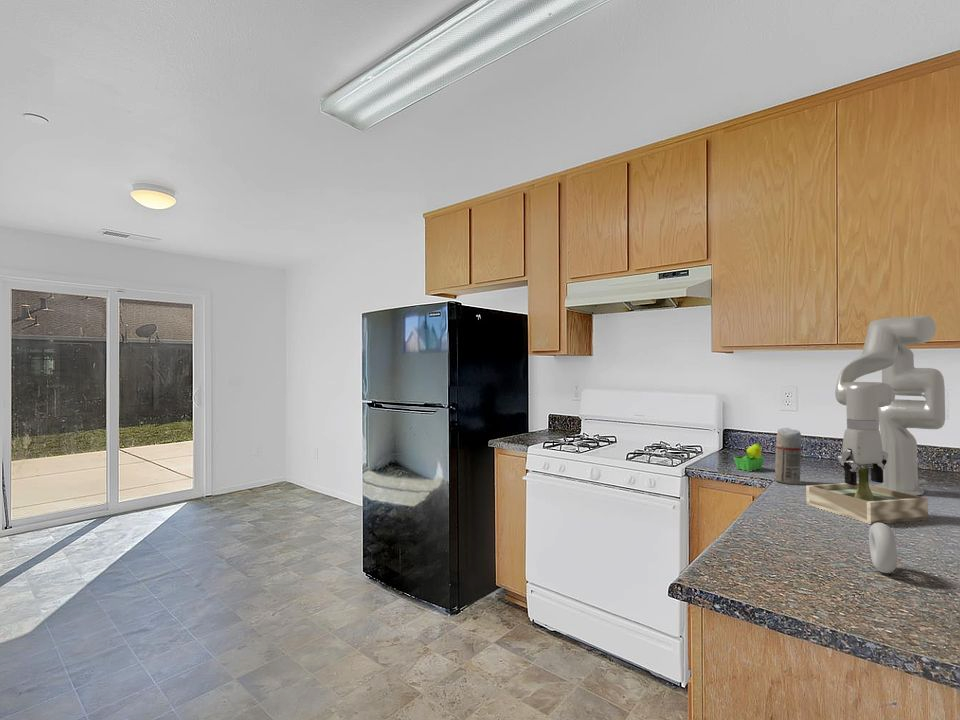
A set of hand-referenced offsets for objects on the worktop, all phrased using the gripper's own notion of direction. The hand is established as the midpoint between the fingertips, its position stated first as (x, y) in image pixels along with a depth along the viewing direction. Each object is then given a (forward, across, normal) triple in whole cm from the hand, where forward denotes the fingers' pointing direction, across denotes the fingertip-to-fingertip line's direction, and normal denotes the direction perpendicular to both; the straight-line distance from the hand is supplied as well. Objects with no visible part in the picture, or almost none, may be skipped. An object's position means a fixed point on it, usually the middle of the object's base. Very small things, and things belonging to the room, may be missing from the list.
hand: (864, 483), depth 145 cm
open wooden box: (+8, 0, 0) cm, 8 cm away
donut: (+8, +38, +35) cm, 53 cm away
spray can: (+9, -10, -37) cm, 39 cm away
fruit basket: (+9, -13, -60) cm, 62 cm away
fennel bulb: (+8, 0, 0) cm, 8 cm away
